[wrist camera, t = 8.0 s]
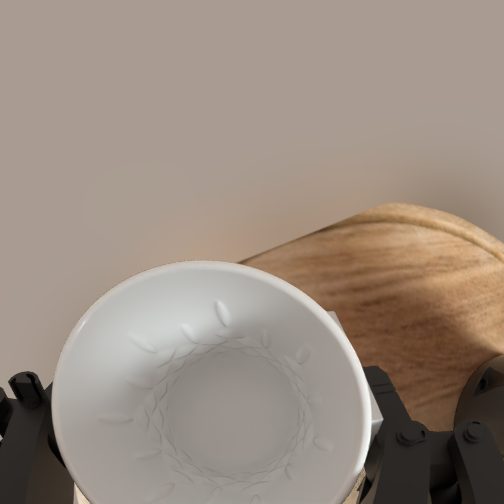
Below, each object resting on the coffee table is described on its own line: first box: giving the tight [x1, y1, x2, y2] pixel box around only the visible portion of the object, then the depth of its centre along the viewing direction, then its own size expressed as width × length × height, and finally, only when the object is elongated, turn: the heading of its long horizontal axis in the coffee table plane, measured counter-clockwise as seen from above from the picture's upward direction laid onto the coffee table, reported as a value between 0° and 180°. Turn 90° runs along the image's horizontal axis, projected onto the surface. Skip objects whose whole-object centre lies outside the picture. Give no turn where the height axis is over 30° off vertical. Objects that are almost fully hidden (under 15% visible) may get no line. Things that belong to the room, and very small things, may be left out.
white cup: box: [51, 260, 372, 504], centre depth 9 cm, size 8×8×10 cm
